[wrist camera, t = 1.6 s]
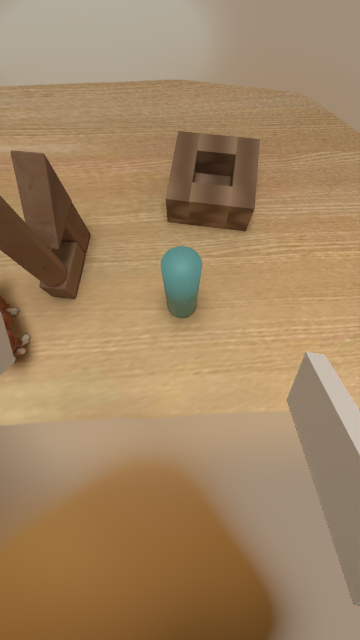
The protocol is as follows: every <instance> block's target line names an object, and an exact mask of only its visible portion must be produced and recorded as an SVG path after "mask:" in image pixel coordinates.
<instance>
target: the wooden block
mask: <svg viewBox="0 0 360 640" xmlns="http://www.w3.org/2000/svg"><path fill="white" fill-rule="evenodd" d="M11 156H12V161H13V166H14V171H15V175H16V180H17V185H18V190H19V194H20V199H21V204H22V209H23V213H24V218H25V222H24V221H23V220H22V219H21V218H20V217H19V215H18V214H17V213H16V212H15V211H14V210H13V209H12V208H11V207H10V206H9V205H8V204H7V203H6V202H5V200H4V199H3V198H2V197H1V196H0V250H1V251H2V252H4V253H5V254H6V255H8V256H9V257H10V258H11V259H13V260H14V261H15V262H17V263H18V264H19V265H21V266H22V267H23V268H24V269H26V270H27V271H28V272H30V273H31V274H32V275H33V276H35V277H36V278H37V279H39V280H40V281H41V282H40V288H42V289H43V290H45V291H46V292H47V293H49V294H50V295H51V296H56V297H66V298H75V297H76V293H77V289H78V284H79V280H80V276H81V271H82V267H83V263H84V258H85V253H86V250H87V246H88V241H89V237H90V232H89V231H88V229H87V227H86V226H85V224H84V222H83V220H82V219H81V217H80V215H79V214H78V212H77V210H76V208H75V207H74V205H73V203H71V202H72V201H71V199H70V197H69V195H68V194H67V192H66V190H65V189H64V187H63V185H62V183H61V182H60V180H59V178H58V177H57V175H56V173H55V171H54V170H53V168H52V166H51V165H50V163H49V161H48V159H47V158H46V156H45V154H43V153H35V152H23V151H11ZM50 249H51V250H50Z"/></svg>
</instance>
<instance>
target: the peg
mask: <svg viewBox="0 0 360 640" xmlns="http://www.w3.org/2000/svg"><path fill="white" fill-rule="evenodd" d="M201 269H202V261H201V258H200V256H199V255H198V253H197V252H196V251H194V250H193V249H191V248H189V247H184V246H179V247H174V248H172V249H170V250H168V251H167V252H166V253H165V254H164V256H163V258H162V260H161V271H162V276H163V282H164V288H165V293H166V299H167V304H168V309H169V311H170V312H171V314H172V315H174V316H176V317H178V318H185V317H188V316H190V315H191V314H192V313H193V312H194V310H195V308H196V302H197V296H198V289H199V283H200V276H201Z"/></svg>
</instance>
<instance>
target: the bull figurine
mask: <svg viewBox="0 0 360 640" xmlns="http://www.w3.org/2000/svg"><path fill="white" fill-rule="evenodd" d="M7 311H8V312H9V313H10V314H11V315H17V313H18V312H19V309H18V308H10V306H9V304H7V303H6V301H5V300H4V299H3V298H2V297H1V296H0V312H1V314H2V317H3V321H4V324H5V328H6V331H7V335H8V338H9V342H10V345H11V349H12V351H13V350H14V349H15V347H16V348H17V349H16V350H15V352H14V353H13V356H14V359H15V360H16V359H17V356H16V355H21V354H24V353H25V352H26V349H24V348H22V346H23V345H24V344H27V343H29V339H30V335H29V334H24V335H23V336H22V338H21V339H17V338H15V337H14V335H13V333H12V331H11V330H10V328H11V317H10V315H9V313H8V312H7ZM14 363H15V362H14Z"/></svg>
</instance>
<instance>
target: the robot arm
mask: <svg viewBox="0 0 360 640" xmlns="http://www.w3.org/2000/svg"><path fill="white" fill-rule="evenodd" d="M14 362H15V359H14V356H13V352H12V349H11V345H10V342H9V338H8V335H7V331H6V328H5V324H4V321H3V317H2V314H1V312H0V376H1V375H2V374H3V373H4V372H5V371H6V370H7V369H8V368H9V367H10V366H11V365H12V364H13V363H14ZM287 402H288V405H289V408H290V412H291V415H292V418H293V421H294V424H295V427H296V430H297V433H298V436H299V439H300V442H301V445H302V448H303V451H304V454H305V457H306V460H307V463H308V467H309V470H310V473H311V476H312V479H313V482H314V485H315V488H316V491H317V494H318V497H319V500H320V503H321V506H322V509H323V512H324V516H325V519H326V522H327V525H328V528H329V530H330V534H331V537H332V540H333V543H334V546H335V549H336V552H337V555H338V558H339V561H340V565H341V568H342V571H343V573H344V577H345V580H346V583H347V586H348V588H349V592H350V595H351V598H352V601H353V604H354V605H360V410H359V409H358V407H357V405H356V404H355V402H354V401H353V399H352V397H351V396H350V394H349V393H348V391H347V389H346V388H345V386H344V385H343V383H342V381H341V380H340V378H339V376H338V375H337V373H336V372H335V370H334V368H333V367H332V365H331V364H330V362H329V360H328V359H327V357H326V356H325V354H318V353H310V352H306V353H305V355H304V358H303V360H302V363H301V365H300V368H299V370H298V373H297V375H296V378H295V380H294V383H293V385H292V388H291V390H290V393H289V395H288V398H287Z"/></svg>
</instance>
